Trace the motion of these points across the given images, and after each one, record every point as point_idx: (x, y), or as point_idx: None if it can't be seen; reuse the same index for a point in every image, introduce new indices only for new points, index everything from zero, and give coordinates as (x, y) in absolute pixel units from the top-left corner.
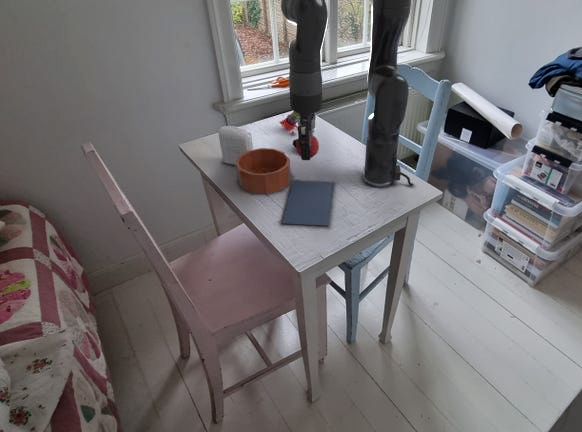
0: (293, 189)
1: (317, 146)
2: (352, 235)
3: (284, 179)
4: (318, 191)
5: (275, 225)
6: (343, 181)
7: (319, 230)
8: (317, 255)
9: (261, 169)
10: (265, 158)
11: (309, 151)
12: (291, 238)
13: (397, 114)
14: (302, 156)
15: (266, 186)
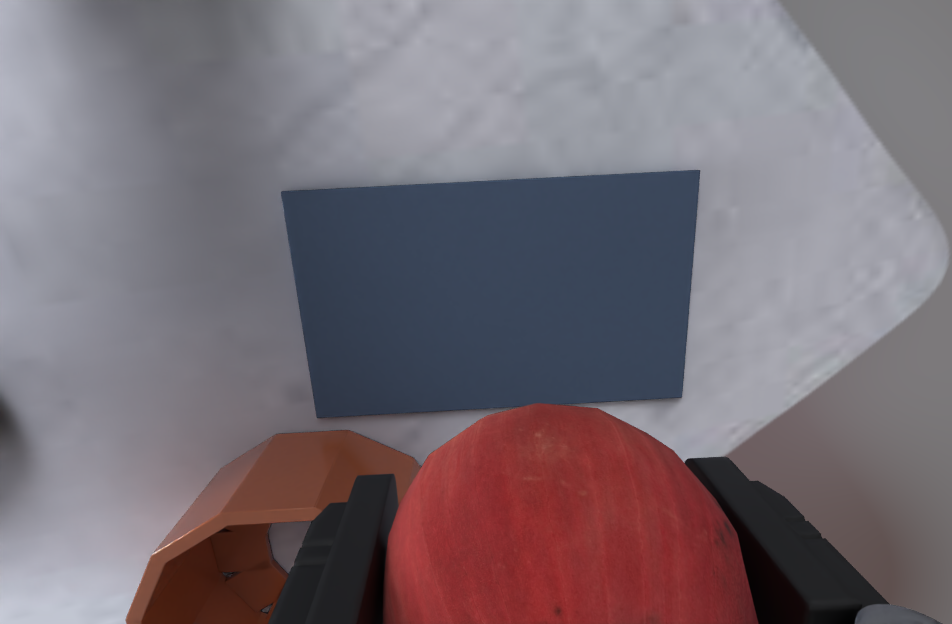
0: (398, 400)
1: (636, 460)
2: (773, 15)
3: (369, 471)
4: (393, 266)
5: (686, 419)
6: (237, 121)
7: (726, 211)
8: (908, 194)
9: (253, 579)
10: (191, 608)
11: (799, 545)
12: (779, 334)
13: None
14: None
15: None
